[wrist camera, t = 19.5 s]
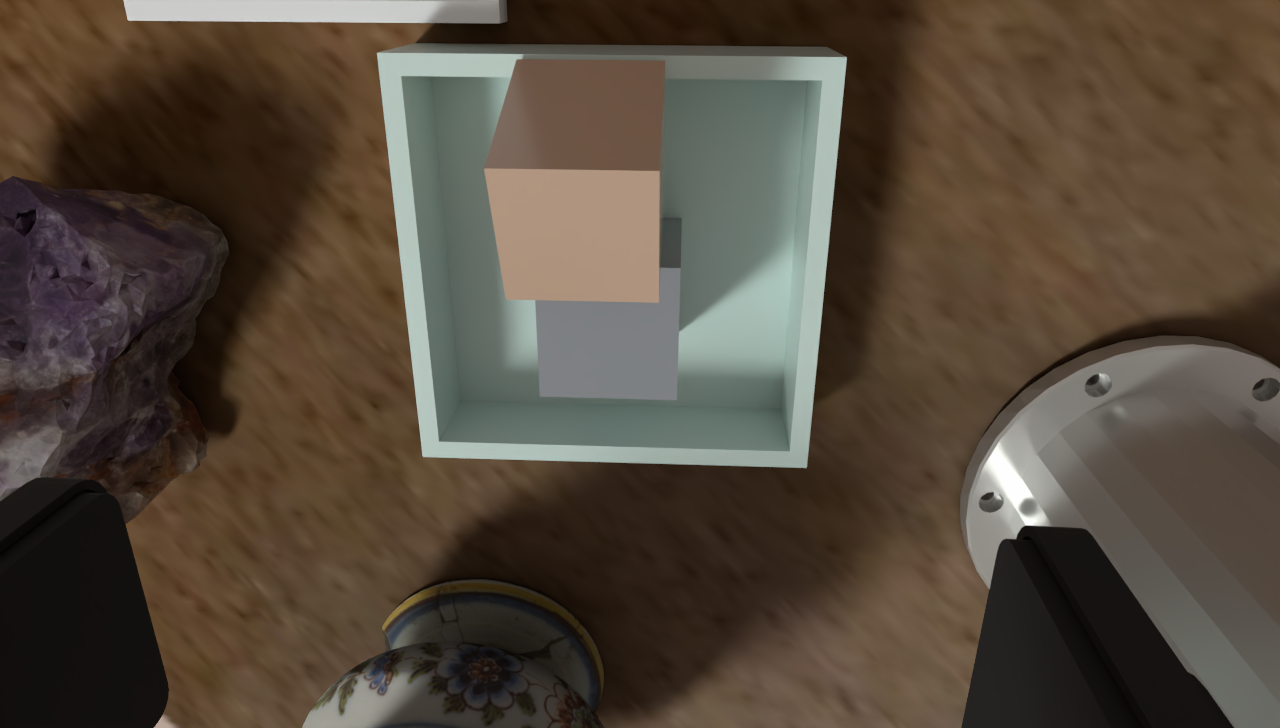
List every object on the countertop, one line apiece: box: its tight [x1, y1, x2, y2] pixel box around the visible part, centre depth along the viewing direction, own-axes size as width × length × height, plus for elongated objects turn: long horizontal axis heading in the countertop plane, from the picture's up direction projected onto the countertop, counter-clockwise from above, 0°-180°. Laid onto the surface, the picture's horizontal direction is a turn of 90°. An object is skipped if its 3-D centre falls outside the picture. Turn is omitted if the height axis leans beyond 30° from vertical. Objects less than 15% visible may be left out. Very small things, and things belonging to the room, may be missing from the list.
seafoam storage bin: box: [377, 43, 847, 468], centre depth 28 cm, size 13×13×4 cm
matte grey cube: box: [535, 218, 682, 400], centre depth 27 cm, size 4×4×5 cm
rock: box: [0, 176, 229, 524], centre depth 28 cm, size 12×9×10 cm
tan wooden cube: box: [484, 59, 665, 303], centre depth 23 cm, size 4×4×5 cm
